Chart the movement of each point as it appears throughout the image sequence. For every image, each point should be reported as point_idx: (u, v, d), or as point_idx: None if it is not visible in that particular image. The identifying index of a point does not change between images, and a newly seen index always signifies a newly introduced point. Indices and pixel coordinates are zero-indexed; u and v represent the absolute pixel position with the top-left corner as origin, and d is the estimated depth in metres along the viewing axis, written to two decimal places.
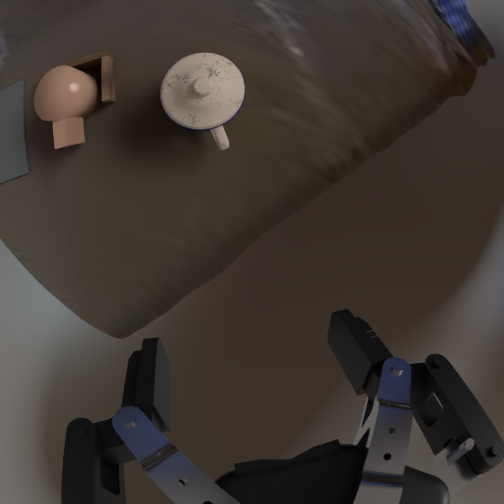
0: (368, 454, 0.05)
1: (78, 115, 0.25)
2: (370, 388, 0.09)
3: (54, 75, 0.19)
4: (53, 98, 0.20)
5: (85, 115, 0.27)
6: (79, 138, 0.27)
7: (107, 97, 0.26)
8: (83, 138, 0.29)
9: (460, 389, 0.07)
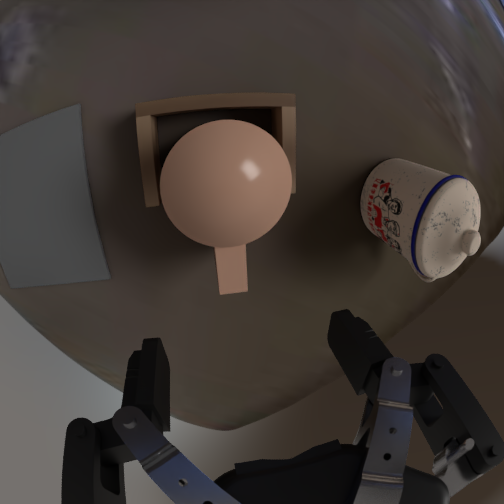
0: (368, 454, 0.05)
1: None
2: (370, 388, 0.09)
3: (220, 140, 0.13)
4: (220, 198, 0.14)
5: None
6: None
7: (293, 189, 0.20)
8: None
9: (460, 389, 0.07)
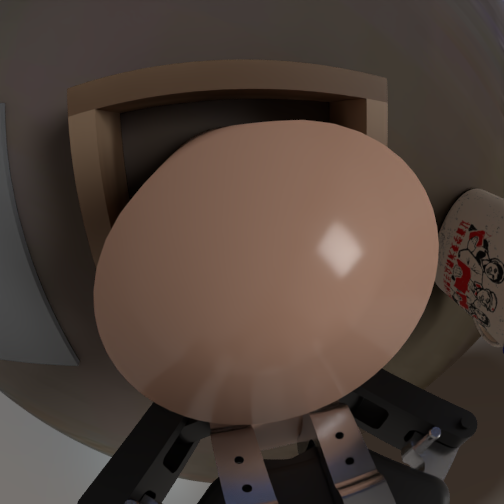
0: (368, 454, 0.05)
1: None
2: None
3: (287, 198, 0.04)
4: (274, 357, 0.05)
5: None
6: None
7: None
8: None
9: (397, 385, 0.07)
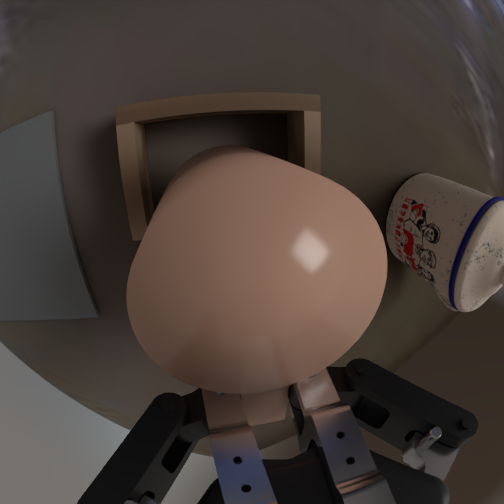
0: (368, 454, 0.05)
1: None
2: None
3: (259, 221, 0.06)
4: (256, 333, 0.07)
5: None
6: None
7: None
8: None
9: (398, 385, 0.07)
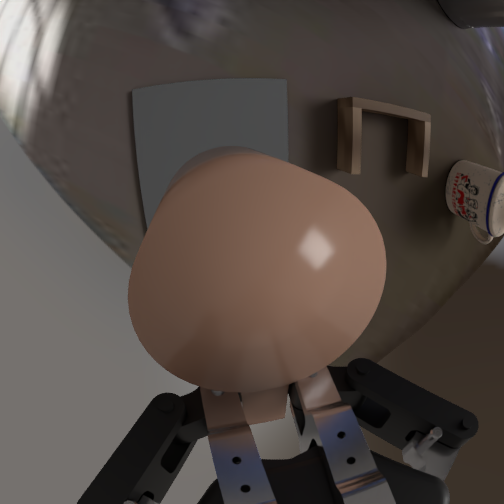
0: (368, 454, 0.05)
1: None
2: (289, 388, 0.10)
3: (259, 221, 0.06)
4: (255, 332, 0.07)
5: None
6: None
7: (426, 174, 0.25)
8: None
9: (399, 385, 0.07)
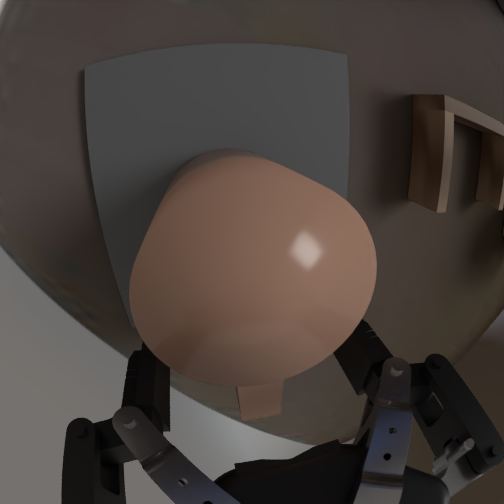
0: (368, 454, 0.05)
1: None
2: (370, 388, 0.09)
3: (252, 223, 0.06)
4: (250, 328, 0.07)
5: None
6: None
7: (502, 207, 0.15)
8: None
9: (460, 389, 0.07)
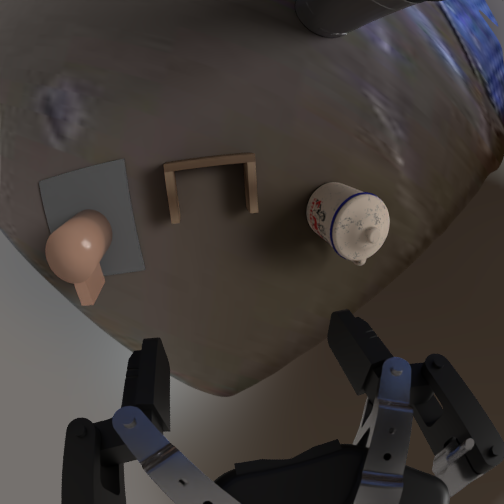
0: (368, 454, 0.05)
1: None
2: (370, 388, 0.09)
3: (61, 237, 0.25)
4: (68, 262, 0.26)
5: None
6: (100, 283, 0.33)
7: (257, 210, 0.34)
8: (103, 279, 0.34)
9: (460, 389, 0.07)
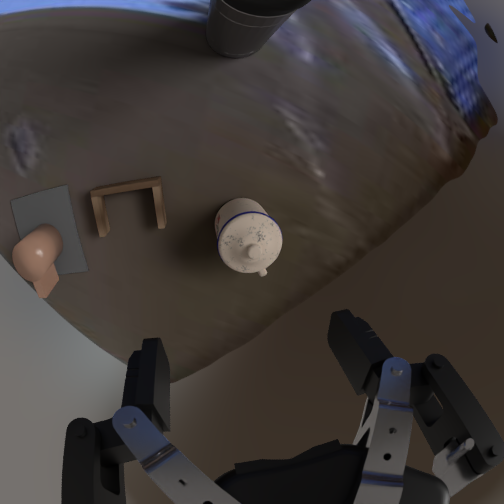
0: (368, 454, 0.05)
1: (49, 267, 0.36)
2: (370, 388, 0.09)
3: (22, 249, 0.30)
4: (27, 266, 0.31)
5: (54, 261, 0.38)
6: (54, 281, 0.38)
7: (163, 226, 0.39)
8: (57, 277, 0.39)
9: (460, 389, 0.07)
